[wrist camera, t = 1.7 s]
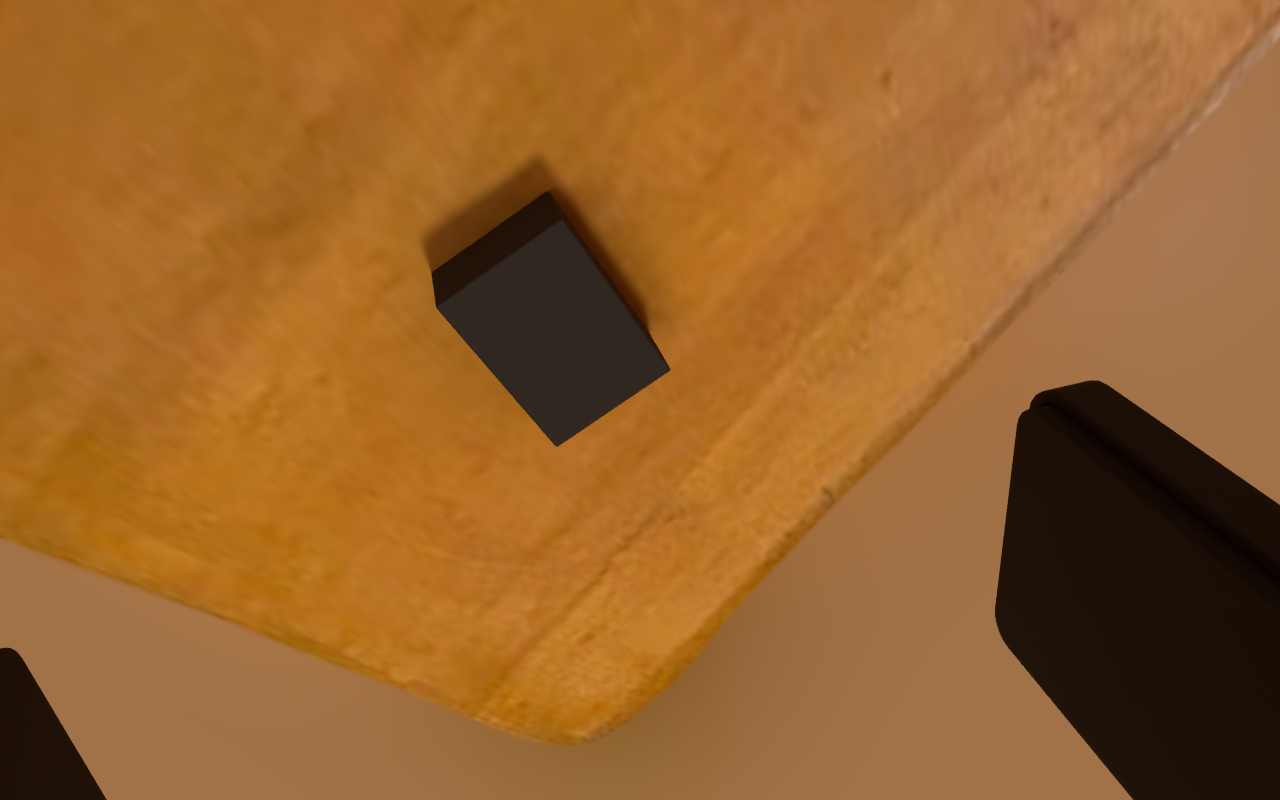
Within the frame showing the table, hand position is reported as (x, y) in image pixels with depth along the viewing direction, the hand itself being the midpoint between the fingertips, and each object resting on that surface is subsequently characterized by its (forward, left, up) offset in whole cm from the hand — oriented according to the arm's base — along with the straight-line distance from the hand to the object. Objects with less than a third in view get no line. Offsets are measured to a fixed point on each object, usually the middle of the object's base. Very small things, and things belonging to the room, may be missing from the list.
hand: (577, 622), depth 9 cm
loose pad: (+1, +8, -25) cm, 27 cm away
